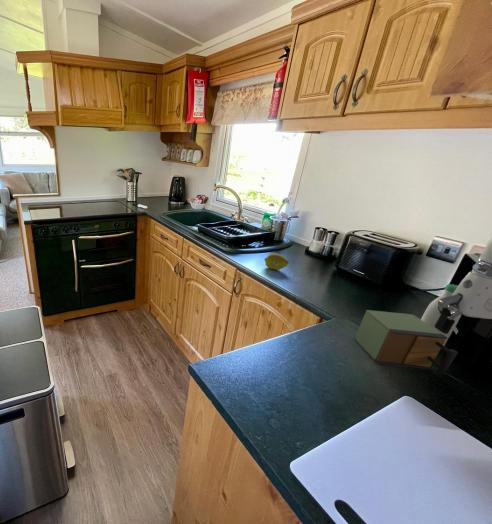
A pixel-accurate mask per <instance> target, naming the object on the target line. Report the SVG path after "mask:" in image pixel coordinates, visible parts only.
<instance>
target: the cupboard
mask: <svg viewBox="0 0 492 524" xmlns="http://www.w3.org/2000/svg"><path fill="white" fill-rule="evenodd" d="M417 336H422V337H431V338H441V339H447V337H446V336H444V335H443V334H441V333H439V332H438V331H436V330H435V329H434V328H432V327H431V326H429V325H428V324H426V323H425V322H423V321H422V320H421V318H419V317H418V316H416V315H414V314H410V313H400V312H391V311H383V310H382V311H381V310H371V309H366V311H365V313H364V315H363V318H362V320H361V322H360V324H359V327H358V328H357V332H356V334H355V337H354V340H355V341H356V343H358V344H359V346H361V348H363V350H365V352H366V353H367V354H368V355H369V356H370V357H371V358H372V359H373V360H374V361H375V363H377V364H378V365H383V366H384V365H386V366H393V367H401V368H402V367H404V368H412V369H421V370H430V369H431V367H425V366H416V365H406V364H403V362H404V360H405V358H406V356H407V354H408V352H409V351H410V349H411V347H412V345H413V343H414V341H415V339H416V337H417Z"/></svg>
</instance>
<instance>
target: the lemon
mask: <svg viewBox="0 0 492 524" xmlns="http://www.w3.org/2000/svg"><path fill="white" fill-rule="evenodd" d="M264 262H265V266H266V267H267V268H268V269H270V270H272V269H273V270H272V271H279V270H282V269H284V268H285V267H288V265H289V263H290V262H289V260H288V259H286V257H284V256H283V255H281V254H279V253H270V254H269V255H267V256H266V257H265V258H264Z"/></svg>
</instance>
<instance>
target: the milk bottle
mask: <svg viewBox="0 0 492 524" xmlns="http://www.w3.org/2000/svg"><path fill="white" fill-rule="evenodd" d="M458 285H459V284H458ZM458 285H457V284H453V283H447V284H446V286H445V287H444V289H443V293H442V294H440V296H438V297H437V298H435V299H434V300H432V301H431V302H430V303H429V305H428V306H427V307H426V309H425V311H424V312H423V315H422V316H421V318H420V320H422V321H423V322H425V323H426V324H428V325H429V326H431V327H432V328H434V329H435V330H436V331H438V332H439V333H441V334H443V335H444V336H446V337H447V339H446V340H445V342H444V344H443V346H446V344H447V342H448V340H449V338H450V337H451V335H452V333H453V331H454V330H455V329H456V326H457V325H458V323H459V321H460V319H461V317H462V315H460V316H458V317H456V318H454V319H453V320H454V321H455V323H454V324H453V326H452V328H451V329H450V331H449V333H448V334H444V333H443V332H441V331H440V330H438V329H437V328H435V324H436V322H437V321H438V319H439V317H440V315H441V314H440V313H439V310H438V300H439V299H441V298H445V297H449V296H452V294H453V293H454V291H455V290H456V288H457V287H458ZM450 312H451V314H452V313H453V312H455V311H454V310H452V311H450Z"/></svg>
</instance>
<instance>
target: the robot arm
mask: <svg viewBox="0 0 492 524" xmlns="http://www.w3.org/2000/svg"><path fill="white" fill-rule="evenodd" d="M438 310H439V313H440V314H441V315H440V317H439V319H438V321H437V322H436V324H435V328H437V329H438V330H440V331H441V332H443V333H444V334H448V333H449V331H450V329H451V328H452V326H453V324H454V323H455V321H454V320H453V319H454V318H456V317H458V316H460V315H461V316H462V315H463V316H465V317H469V318H475V319H479V321H478V323H477V325H476V326H475V328H474V329H473V332H475V333H476V334H477V335H479V336H481V337H483V338H484V339H490V337H491V336H492V235H491V236H490V238H489V240H488V242H487V243H486V245H485V247H484V248H483V250H482V252H481V254H480V255H479V257H478V259H477V261H476V262H475V264H473V265H472V270H471V271H469V272H468V273H467V274H466V275H465V276H464V278H463V279H461V281H460V283H459V284H458V287H457V288H456V290H455V291H454V293H453V294H452V296H449V297H445V298H441V299H439V300H438ZM452 310H454V311H455V312H453V313H452V314H451V312H450V311H452Z"/></svg>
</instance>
